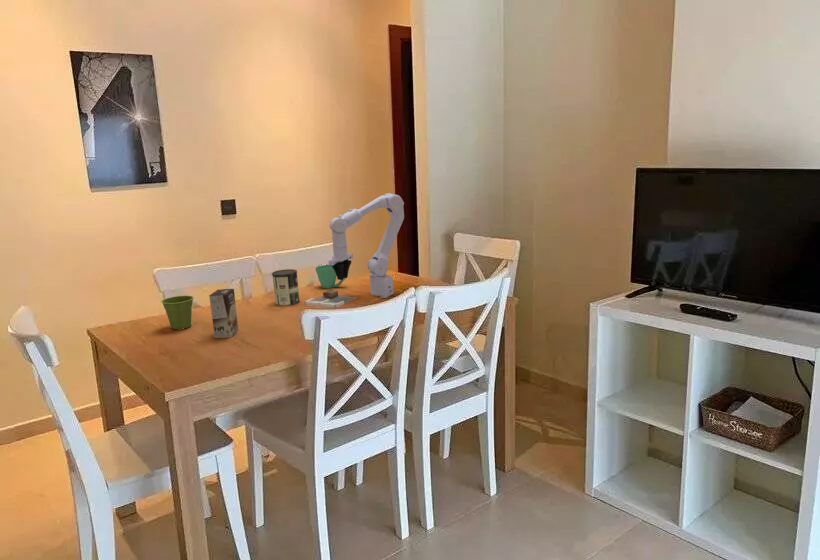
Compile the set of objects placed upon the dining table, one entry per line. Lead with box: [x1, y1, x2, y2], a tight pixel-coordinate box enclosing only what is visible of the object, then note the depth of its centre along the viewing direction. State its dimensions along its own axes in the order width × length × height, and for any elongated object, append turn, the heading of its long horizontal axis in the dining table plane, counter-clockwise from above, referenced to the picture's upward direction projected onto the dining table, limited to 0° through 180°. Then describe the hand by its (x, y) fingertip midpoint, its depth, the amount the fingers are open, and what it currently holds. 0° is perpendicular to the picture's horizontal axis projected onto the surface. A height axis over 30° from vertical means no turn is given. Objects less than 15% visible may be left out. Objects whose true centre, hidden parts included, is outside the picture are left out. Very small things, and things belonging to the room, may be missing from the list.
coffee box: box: [208, 288, 239, 339], centre depth 232 cm, size 9×6×16 cm
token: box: [322, 289, 339, 299], centre depth 274 cm, size 4×4×2 cm
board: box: [303, 295, 358, 309], centre depth 268 cm, size 16×16×2 cm
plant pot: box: [160, 295, 195, 330], centre depth 244 cm, size 12×12×11 cm
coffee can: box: [271, 268, 301, 307], centre depth 268 cm, size 10×10×14 cm
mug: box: [315, 264, 347, 289], centre depth 291 cm, size 15×10×10 cm
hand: (342, 278), depth 269 cm, fingers open, 3 cm apart
